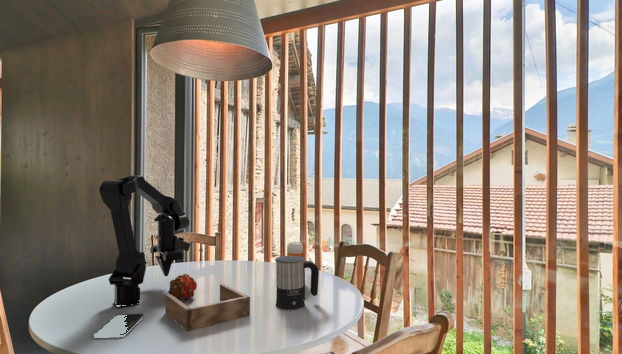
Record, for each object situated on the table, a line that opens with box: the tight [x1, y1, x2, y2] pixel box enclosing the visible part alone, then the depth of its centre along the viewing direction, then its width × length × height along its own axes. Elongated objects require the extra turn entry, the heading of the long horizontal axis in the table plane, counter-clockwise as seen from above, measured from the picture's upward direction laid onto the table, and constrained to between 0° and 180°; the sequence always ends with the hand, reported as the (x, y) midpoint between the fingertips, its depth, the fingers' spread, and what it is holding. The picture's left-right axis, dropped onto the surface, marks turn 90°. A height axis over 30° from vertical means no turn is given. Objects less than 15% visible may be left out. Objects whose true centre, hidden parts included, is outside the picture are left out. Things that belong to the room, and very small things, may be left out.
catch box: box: [164, 283, 251, 332], centre depth 113 cm, size 18×17×6 cm
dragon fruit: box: [167, 273, 198, 301], centre depth 128 cm, size 8×8×12 cm
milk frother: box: [274, 255, 320, 311], centre depth 125 cm, size 14×16×15 cm
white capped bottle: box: [286, 241, 304, 257], centre depth 147 cm, size 6×6×15 cm
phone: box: [115, 313, 144, 335], centre depth 103 cm, size 8×1×15 cm
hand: (166, 276), depth 141 cm, fingers closed
